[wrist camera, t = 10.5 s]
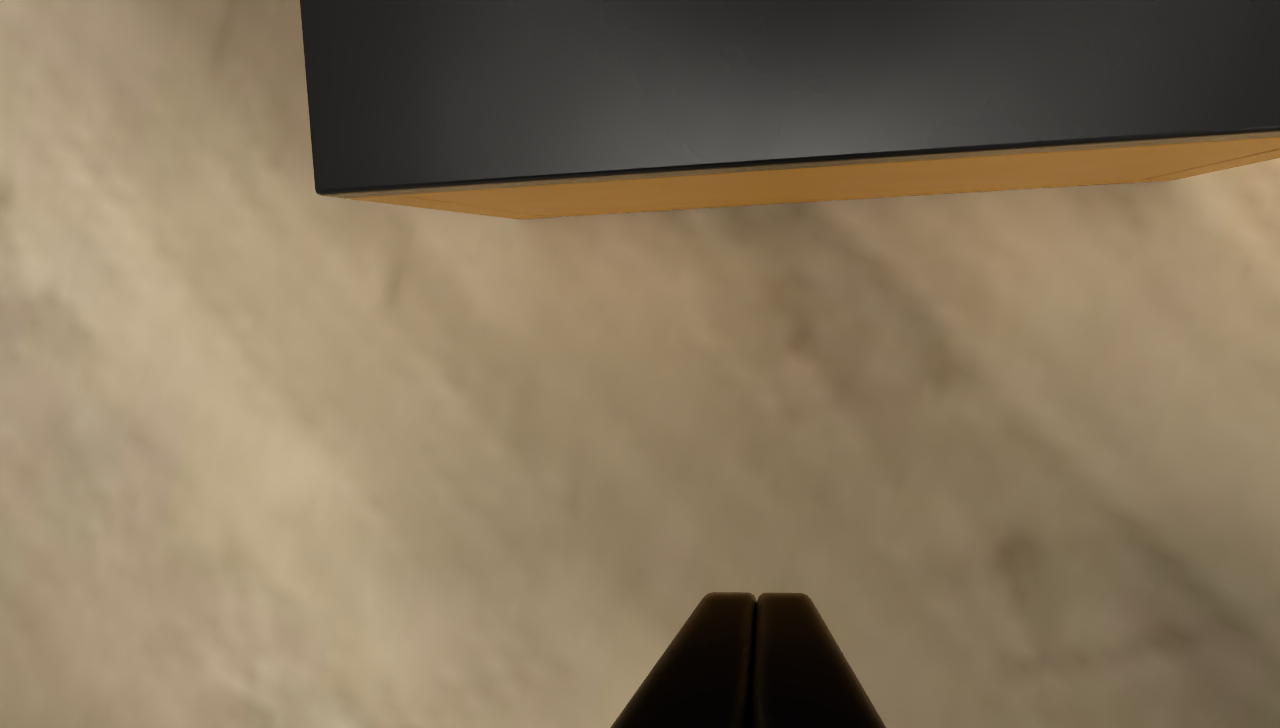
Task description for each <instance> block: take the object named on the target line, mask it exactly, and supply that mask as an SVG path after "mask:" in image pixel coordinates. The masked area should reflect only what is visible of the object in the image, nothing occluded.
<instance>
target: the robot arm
mask: <svg viewBox="0 0 1280 728" xmlns="http://www.w3.org/2000/svg"><path fill="white" fill-rule="evenodd" d="M611 728H886V727H885V725H884V723H883V721H882V720H881V718H880V716H879V715H878V713H877V711H876V710H875V708H874V706H873V704H872V703H871V701H870V699H869V698H868V696H867V694H866V692H865V691H864V689H863V687H862V686H861V684H860V682H859V680H858V679H857V677H856V675H855V674H854V672H853V670H852V668H851V667H850V665H849V663H848V662H847V660H846V658H845V656H844V655H843V653H842V651H841V650H840V648H839V646H838V645H837V643H836V641H835V639H834V638H833V636H832V634H831V633H830V631H829V629H828V627H827V626H826V624H825V622H824V621H823V619H822V617H821V615H820V614H819V612H818V610H817V609H816V607H815V605H814V603H813V602H812V600H811V599H810V598H809V597H808V596H807V595H805V594H803V593H763V594H761V595H760V596H759V598H758V600H756V598H755V597H754V595H752V594H751V593H741V592H713V593H709V594H707V595H706V596H704V598H703V599H702V600H701V601H700V603H699V604H698V606H697V607H696V608H695V610H694V611H693V613H692V614H691V616H690V617H689V618H688V620H687V621H686V623H685V624H684V625H683V627H682V628H681V630H680V631H679V632H678V634H677V635H676V637H675V638H674V639H673V641H672V642H671V644H670V645H669V646H668V648H667V649H666V651H665V652H664V653H663V655H662V656H661V658H660V659H659V660H658V662H657V663H656V665H655V666H654V667H653V669H652V670H651V672H650V673H649V674H648V676H647V677H646V679H645V680H644V681H643V683H642V684H641V686H640V687H639V689H638V690H637V691H636V693H635V694H634V696H633V697H632V698H631V700H630V701H629V703H628V704H627V705H626V707H625V708H624V710H623V711H622V712H621V714H620V715H619V717H618V718H617V719H616V721H615V722H614V724H613V725H612V726H611Z"/></svg>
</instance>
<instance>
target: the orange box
mask: <svg viewBox="0 0 1280 728" xmlns="http://www.w3.org/2000/svg"><path fill="white" fill-rule="evenodd" d="M1276 158H1280V137H1273V138H1258V139H1243V140H1228V141H1212V142H1197V143H1182V144H1167V145H1152V146H1136V147H1121V148H1106V149H1091V150H1075V151H1060V152H1045V153H1030V154H1015V155H999V156H984V157H969V158H954V159H939V160H923V161H908V162H893V163H878V164H862V165H847V166H832V167H817V168H802V169H786V170H771V171H756V172H741V173H726V174H710V175H695V176H680V177H665V178H650V179H634V180H619V181H604V182H589V183H573V184H558V185H543V186H528V187H513V188H497V189H482V190H467V191H452V192H437V193H421V194H406V195H391V196H376V197H361V198H349V199H353V200H362V201H370V202H378V203H387V204H395V205H404V206H412V207H420V208H429V209H437V210H446V211H454V212H462V213H471V214H479V215H488V216H496V217H504V218H513V219H529V218H546V217H562V216H579V215H596V214H613V213H629V212H646V211H663V210H680V209H697V208H713V207H730V206H747V205H764V204H781V203H797V202H814V201H831V200H848V199H864V198H881V197H898V196H915V195H932V194H948V193H965V192H982V191H999V190H1016V189H1032V188H1049V187H1066V186H1083V185H1100V184H1116V183H1133V182H1150V181H1167V180H1176V179H1181V178H1186V177H1190V176H1194V175H1199V174H1204V173H1209V172H1214V171H1219V170H1223V169H1228V168H1233V167H1238V166H1243V165H1247V164H1252V163H1257V162H1262V161H1267V160H1272V159H1276Z"/></svg>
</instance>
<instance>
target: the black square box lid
mask: <svg viewBox="0 0 1280 728" xmlns="http://www.w3.org/2000/svg"><path fill="white" fill-rule="evenodd" d="M300 6H301V19H302V31H303V43H304V56H305V68H306V80H307V93H308V105H309V117H310V130H311V142H312V154H313V166H314V179H315V190H316V193H317V194H319V195H322V196H330V197H338V198H361V197H376V196H391V195H406V194H421V193H437V192H452V191H467V190H482V189H497V188H513V187H528V186H543V185H558V184H573V183H589V182H604V181H619V180H634V179H650V178H665V177H680V176H695V175H710V174H726V173H741V172H756V171H771V170H786V169H802V168H817V167H832V166H847V165H862V164H878V163H893V162H908V161H923V160H939V159H954V158H969V157H984V156H999V155H1015V154H1030V153H1045V152H1060V151H1075V150H1091V149H1106V148H1121V147H1136V146H1152V145H1167V144H1182V143H1197V142H1212V141H1228V140H1243V139H1258V138H1273V137H1280V0H300Z"/></svg>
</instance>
